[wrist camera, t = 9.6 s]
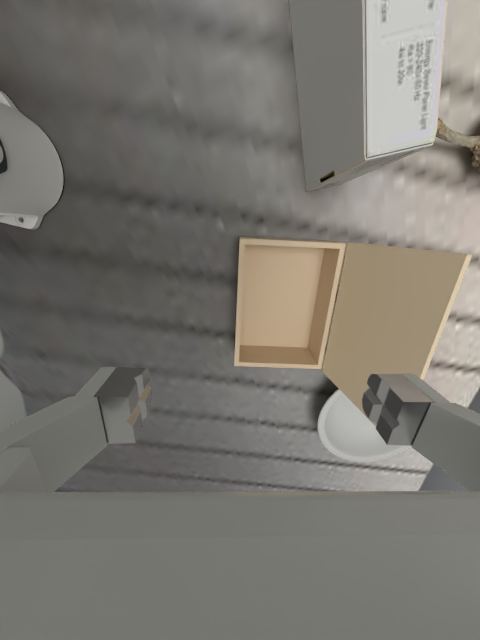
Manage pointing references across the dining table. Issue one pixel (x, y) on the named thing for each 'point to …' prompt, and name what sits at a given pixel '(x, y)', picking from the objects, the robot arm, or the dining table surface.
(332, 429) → the white bowl
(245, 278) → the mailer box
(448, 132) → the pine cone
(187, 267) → the dining table surface
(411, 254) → the lid
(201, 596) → the robot arm
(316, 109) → the packaging
